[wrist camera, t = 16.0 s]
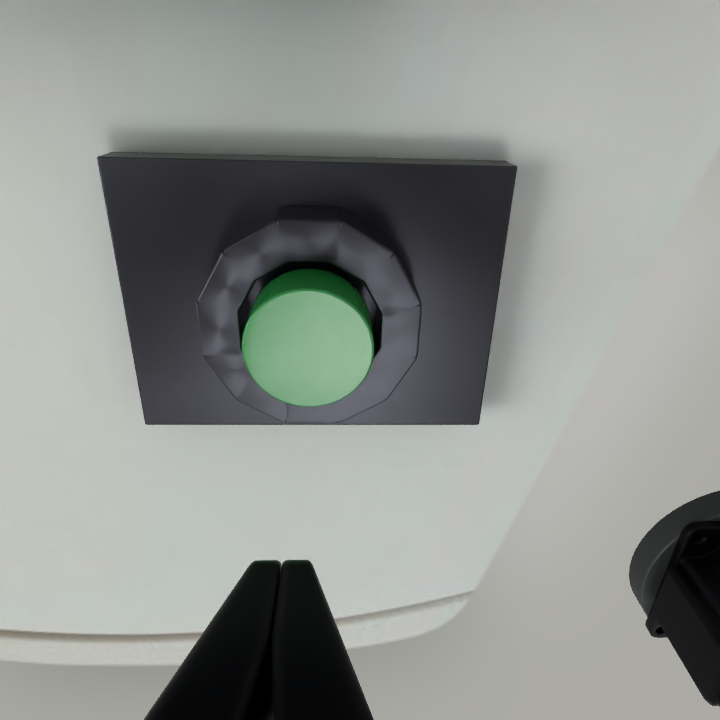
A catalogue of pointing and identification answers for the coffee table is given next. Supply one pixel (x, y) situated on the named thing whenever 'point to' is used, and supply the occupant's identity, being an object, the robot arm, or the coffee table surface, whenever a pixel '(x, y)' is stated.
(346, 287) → the button
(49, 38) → the coffee table surface
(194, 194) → the control block
